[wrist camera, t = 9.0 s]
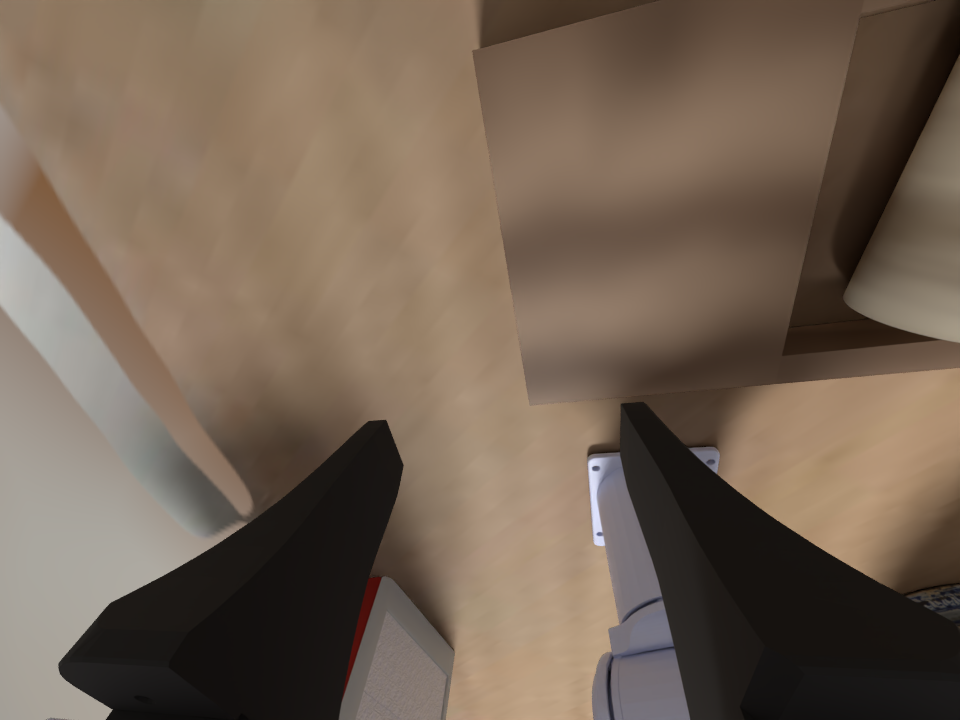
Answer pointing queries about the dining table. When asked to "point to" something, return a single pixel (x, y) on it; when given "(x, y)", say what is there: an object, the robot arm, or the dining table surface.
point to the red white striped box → (395, 660)
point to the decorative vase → (940, 600)
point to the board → (675, 197)
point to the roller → (919, 235)
